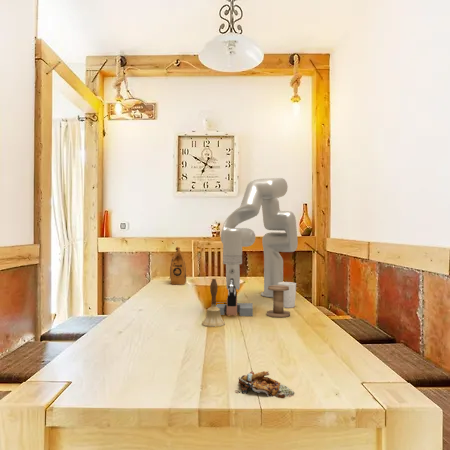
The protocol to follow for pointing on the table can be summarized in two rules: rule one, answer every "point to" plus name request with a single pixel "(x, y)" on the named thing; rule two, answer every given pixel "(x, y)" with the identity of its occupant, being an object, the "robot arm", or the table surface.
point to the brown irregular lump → (263, 385)
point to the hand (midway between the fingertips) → (232, 303)
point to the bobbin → (278, 302)
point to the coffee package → (178, 268)
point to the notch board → (238, 309)
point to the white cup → (289, 294)
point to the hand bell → (213, 309)
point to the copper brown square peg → (231, 309)
